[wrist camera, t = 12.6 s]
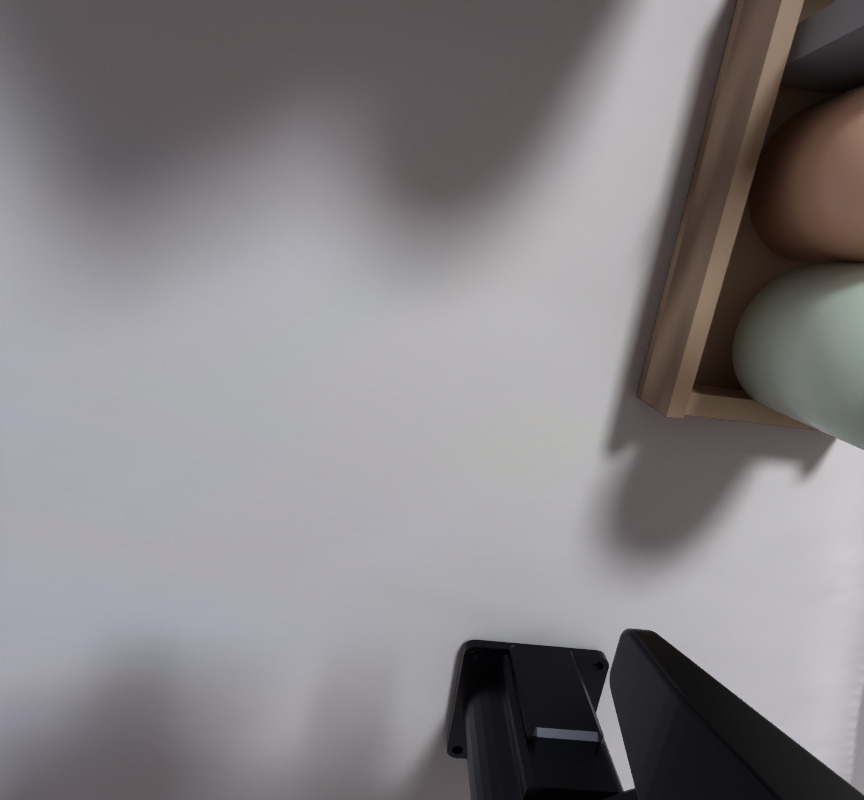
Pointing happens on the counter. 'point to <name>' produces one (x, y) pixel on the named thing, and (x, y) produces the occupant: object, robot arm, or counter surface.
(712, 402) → the wooden tray
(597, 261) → the counter surface
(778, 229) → the terracotta jar
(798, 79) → the bar
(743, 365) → the sage jar
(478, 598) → the counter surface
